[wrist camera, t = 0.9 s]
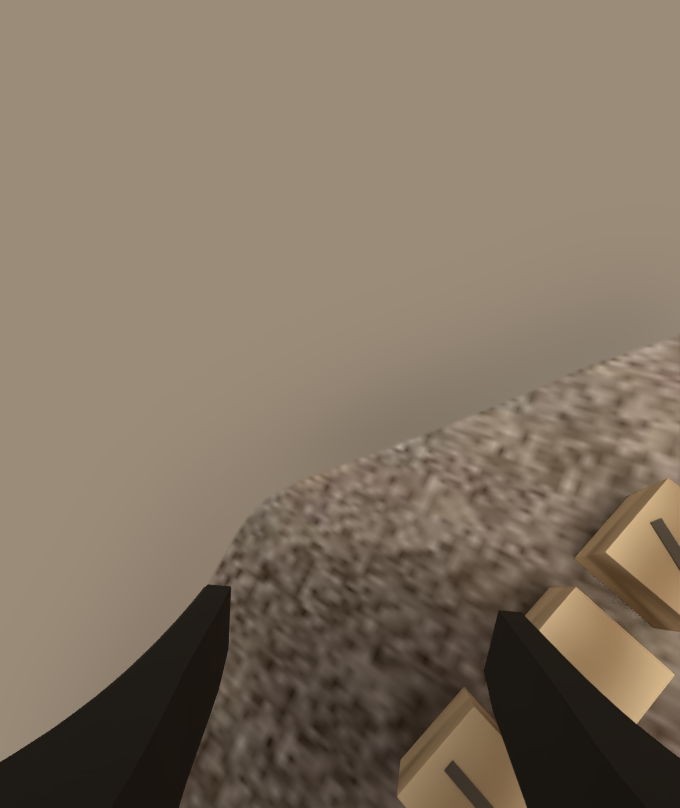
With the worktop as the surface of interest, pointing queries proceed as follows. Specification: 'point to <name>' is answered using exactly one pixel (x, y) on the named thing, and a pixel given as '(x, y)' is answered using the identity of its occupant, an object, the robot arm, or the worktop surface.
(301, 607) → the worktop surface
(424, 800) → the block one
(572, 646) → the plain block
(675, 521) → the block seven
